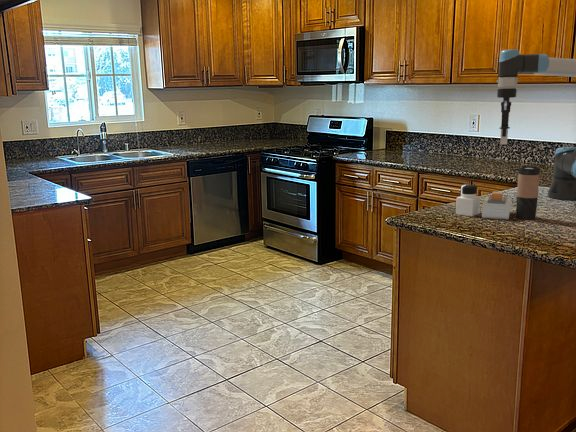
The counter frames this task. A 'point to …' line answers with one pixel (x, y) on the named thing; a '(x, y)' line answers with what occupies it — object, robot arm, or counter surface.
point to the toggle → (497, 196)
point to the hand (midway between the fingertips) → (503, 144)
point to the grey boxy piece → (496, 208)
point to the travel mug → (527, 192)
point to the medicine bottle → (468, 201)
